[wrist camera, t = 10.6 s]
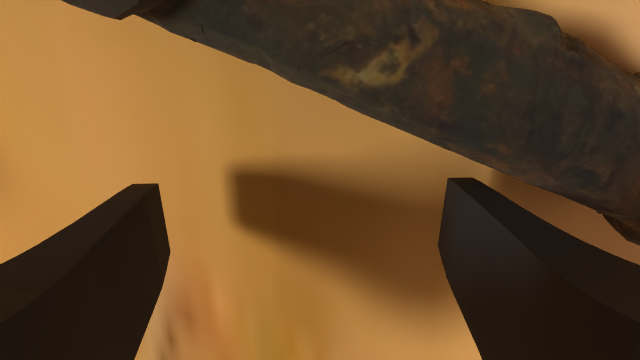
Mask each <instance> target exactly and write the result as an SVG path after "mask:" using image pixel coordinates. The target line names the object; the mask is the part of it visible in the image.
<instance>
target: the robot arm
mask: <svg viewBox="0 0 640 360" xmlns="http://www.w3.org/2000/svg"><path fill="white" fill-rule="evenodd" d="M438 247H439V251H440V255H441V259H442V263H443V266H444V270H445V273H446V276H447V279H448V282H449V284H450V287H451V289H452V291H453V294H454V296H455V298H456V300H457V303H458V305H459V307H460V310H461V312H462V314H463V316H464V319H465V321H466V323H467V325H468V328H469V330H470V332H471V334H472V337H473V339H474V341H475V343H476V346H477V348H478V350H479V352H480V355H481V358H482V360H640V265H638V264H635V263H632V262H630V261H627V260H625V259H622V258H620V257H617V256H615V255H612V254H610V253H608V252H606V251H604V250H601V249H599V248H597V247H595V246H592V245H590V244H588V243H586V242H584V241H582V240H580V239H578V238H576V237H574V236H572V235H570V234H568V233H566V232H564V231H562V230H560V229H559V228H557V227H555V226H553V225H551V224H549V223H547V222H546V221H544V220H542V219H541V218H539V217H537V216H535V215H534V214H532V213H530V212H529V211H527V210H525V209H524V208H522V207H521V206H519V205H517V204H516V203H514V202H512V201H511V200H509V199H508V198H506V197H504V196H503V195H501V194H500V193H498V192H497V191H495V190H493V189H492V188H490V187H488V186H487V185H485V184H483V183H482V182H480V181H478V180H476V179H474V178H448V180H447V187H446V194H445V201H444V208H443V215H442V221H441V228H440V235H439V242H438ZM169 256H170V247H169V241H168V235H167V230H166V224H165V219H164V213H163V208H162V202H161V196H160V191H159V185H158V184H132V185H130V186H128V187H126V188H125V189H123V190H122V191H120V192H118V193H117V194H115V195H114V196H112V197H111V198H109V199H108V200H106V201H105V202H104V203H102V204H101V205H99V206H98V207H96V208H95V209H93V210H92V211H90V212H89V213H87V214H86V215H84V216H83V217H81V218H80V219H78V220H77V221H75V222H74V223H72V224H71V225H69V226H67V227H66V228H64V229H62V230H61V231H59V232H57V233H56V234H54V235H53V236H51V237H49V238H48V239H46V240H44V241H43V242H41V243H40V244H38V245H36V246H34V247H33V248H31V249H29V250H27V251H25V252H23V253H22V254H20V255H18V256H16V257H14V258H12V259H10V260H8V261H6V262H4V263H2V264H0V360H134V359H135V356H136V354H137V351H138V349H139V346H140V343H141V341H142V338H143V336H144V333H145V331H146V328H147V326H148V323H149V321H150V318H151V315H152V313H153V310H154V308H155V305H156V302H157V300H158V297H159V295H160V292H161V289H162V286H163V283H164V278H165V274H166V270H167V265H168V261H169Z"/></svg>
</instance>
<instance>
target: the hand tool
mask: <svg viewBox="0 0 640 360" xmlns="http://www.w3.org/2000/svg"><path fill="white" fill-rule="evenodd" d="M62 1H64V2H66V3H68V4H70V5H73V6H76V7H79V8H82V9H85V10H88V11H90V12H93V13H96V14H99V15H102V16H105V17H109V18H113V19H118V20H122V19H124V18H126V17H128V16H130V15H132V14H135V15H137V16H139V17H141V18H144V19H146V20H148V21H150V22H152V23H155V24H157V25H159V26H161V27H162V28H164V29H166V30H168V31H169V32H171V33H174V34H177V35H180V36H182V37H185V38H188V39H190V40H192V41H194V42H199V43H201V44H204V45H206V46H209V47H212V48H214V49H217V50H219V51H222V52H225V53H227V54H229V55H232V56H234V57H237V58H239V59H241V60H244V61H246V62H249V63H253V64H257V65H259V66H262V67H264V68H266V69H268V70H270V71H272V72H274V73H276V74H277V75H279V76H281V77H283V78H284V79H286V80H288V81H290V82H292V83H294V84H297V85H299V86H302V87H305V88H308V89H311V90H313V91H315V92H318V93H320V94H322V95H325V96H327V97H329V98H331V99H334V100H336V101H338V102H339V103H341V104H343V105H345V106H347V107H349V108H351V109H353V110H355V111H358V112H360V113H362V114H364V115H367V116H369V117H372V118H374V119H377V120H379V121H381V122H384V123H386V124H389V125H391V126H393V127H396V128H398V129H400V130H403V131H405V132H408V133H410V134H412V135H415V136H417V137H419V138H422V139H424V140H426V141H429V142H431V143H433V144H435V145H438V146H440V147H442V148H444V149H447V150H450V151H453V152H455V153H457V154H460V155H462V156H464V157H467V158H469V159H471V160H473V161H476V162H478V163H481V164H483V165H486V166H488V167H491V168H493V169H496V170H498V171H500V172H502V173H504V174H506V175H509V176H511V177H513V178H515V179H518V180H520V181H523V182H525V183H528V184H531V185H534V186H536V187H539V188H542V189H545V190H547V191H550V192H553V193H556V194H559V195H561V196H564V197H566V198H568V199H571V200H573V201H575V202H577V203H580V204H582V205H585V206H587V207H589V208H591V209H594V210H596V211H597V213H600V214H603V216H604V218H605V219H606V220H607V221H608V222H609V223H610V224H611V226H612V227H613V228H614V229H615V230H616V231H617V232H618V233H620V234H621V235H622V236H623V237H624V238H625V239H626V240H627V241H630V242H632V243H635V244H637V245H640V73H637V74H635V75H631V74H630V73H628V72H626V71H625V70H623V69H622V68H620V67H619V66H617V65H615V64H614V63H612V62H611V61H609V60H608V59H607V58H605V57H604V56H603V55H601V54H600V53H599V52H597V51H596V50H594V49H592V48H589V47H587V46H586V45H585V44H584V42H583V41H581V40H579V39H577V38H573V37H571V36H570V35H568V34H566V33H562V32H561V29H560V26H559V25H558V23H557V22H556V20H555V19H554V18H553V17H551V16H549V15H546V14H543V13H540V12H537V11H532V10H527V9H519V8H511V7H501V6H491V5H490V4H488V3H486V2H483V1H481V0H62Z"/></svg>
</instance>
